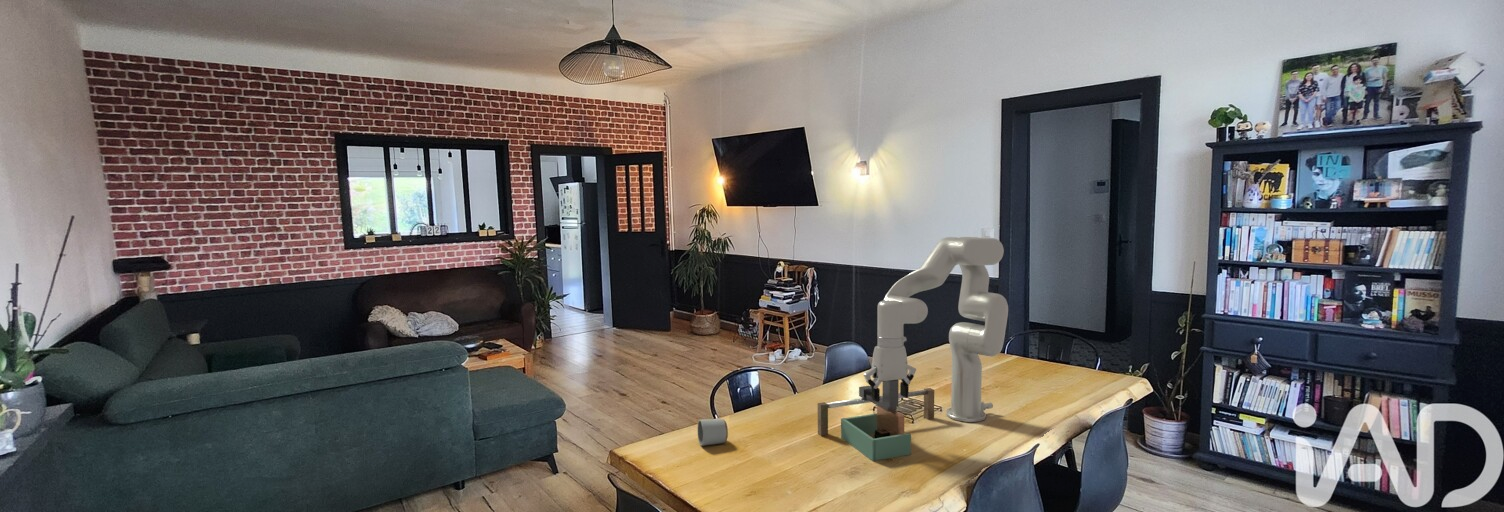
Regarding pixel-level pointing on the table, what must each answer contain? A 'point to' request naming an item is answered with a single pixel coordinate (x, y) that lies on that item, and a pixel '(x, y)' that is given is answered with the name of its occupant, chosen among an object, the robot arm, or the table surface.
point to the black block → (881, 433)
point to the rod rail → (824, 406)
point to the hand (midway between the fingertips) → (890, 398)
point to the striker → (886, 407)
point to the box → (874, 449)
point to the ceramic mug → (712, 431)
